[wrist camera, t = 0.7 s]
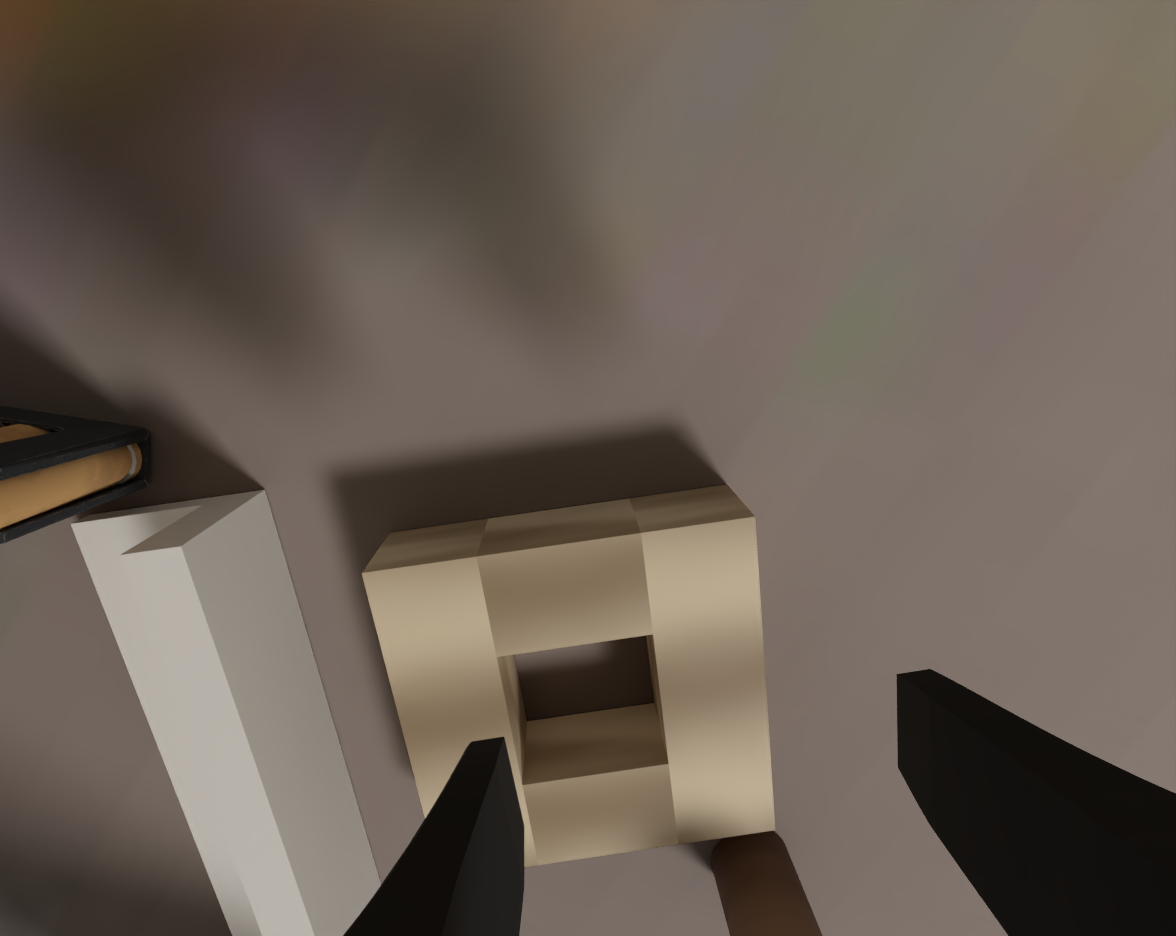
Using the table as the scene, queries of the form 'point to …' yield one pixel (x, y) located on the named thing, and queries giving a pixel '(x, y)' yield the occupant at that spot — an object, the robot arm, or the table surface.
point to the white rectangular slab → (236, 708)
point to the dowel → (761, 887)
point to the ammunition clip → (64, 467)
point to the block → (575, 617)
